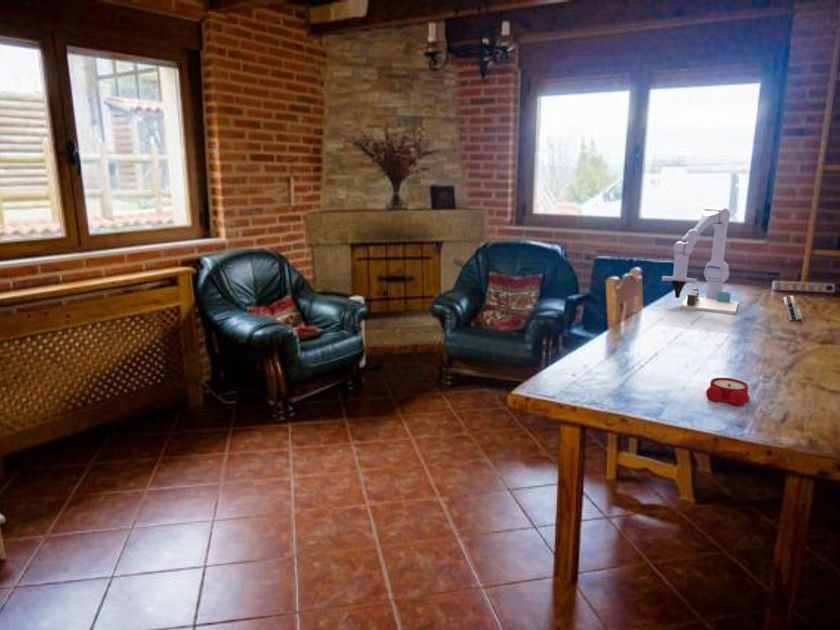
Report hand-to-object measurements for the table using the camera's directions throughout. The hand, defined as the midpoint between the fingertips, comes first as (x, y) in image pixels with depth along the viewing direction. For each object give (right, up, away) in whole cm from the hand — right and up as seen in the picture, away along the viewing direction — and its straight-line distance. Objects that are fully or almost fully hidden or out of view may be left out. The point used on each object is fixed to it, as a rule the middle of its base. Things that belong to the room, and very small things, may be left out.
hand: (677, 297), depth 276 cm
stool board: (+14, -4, -2) cm, 15 cm away
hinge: (+40, -9, -20) cm, 46 cm away
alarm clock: (-35, -31, -112) cm, 122 cm away
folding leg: (+7, -2, 0) cm, 7 cm away
